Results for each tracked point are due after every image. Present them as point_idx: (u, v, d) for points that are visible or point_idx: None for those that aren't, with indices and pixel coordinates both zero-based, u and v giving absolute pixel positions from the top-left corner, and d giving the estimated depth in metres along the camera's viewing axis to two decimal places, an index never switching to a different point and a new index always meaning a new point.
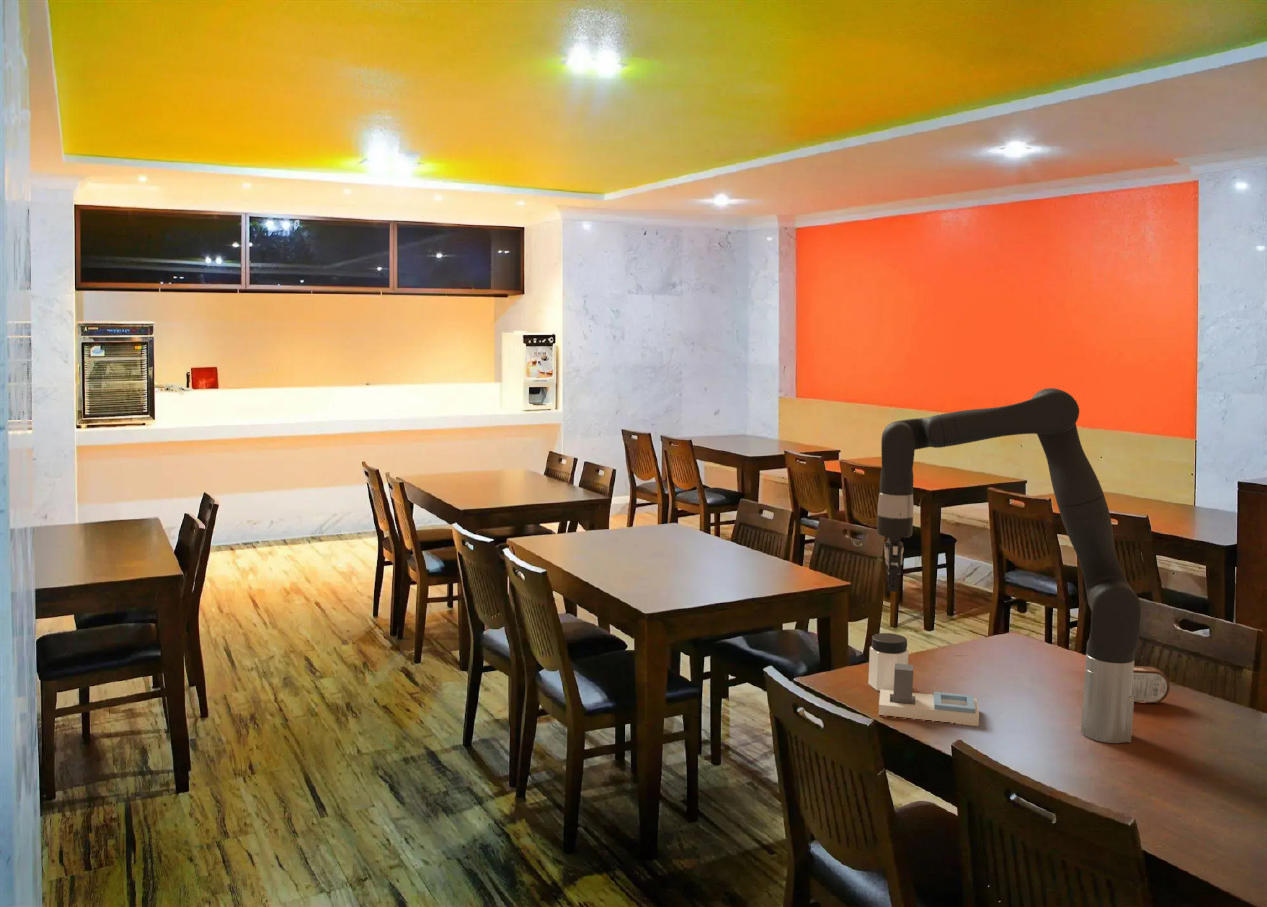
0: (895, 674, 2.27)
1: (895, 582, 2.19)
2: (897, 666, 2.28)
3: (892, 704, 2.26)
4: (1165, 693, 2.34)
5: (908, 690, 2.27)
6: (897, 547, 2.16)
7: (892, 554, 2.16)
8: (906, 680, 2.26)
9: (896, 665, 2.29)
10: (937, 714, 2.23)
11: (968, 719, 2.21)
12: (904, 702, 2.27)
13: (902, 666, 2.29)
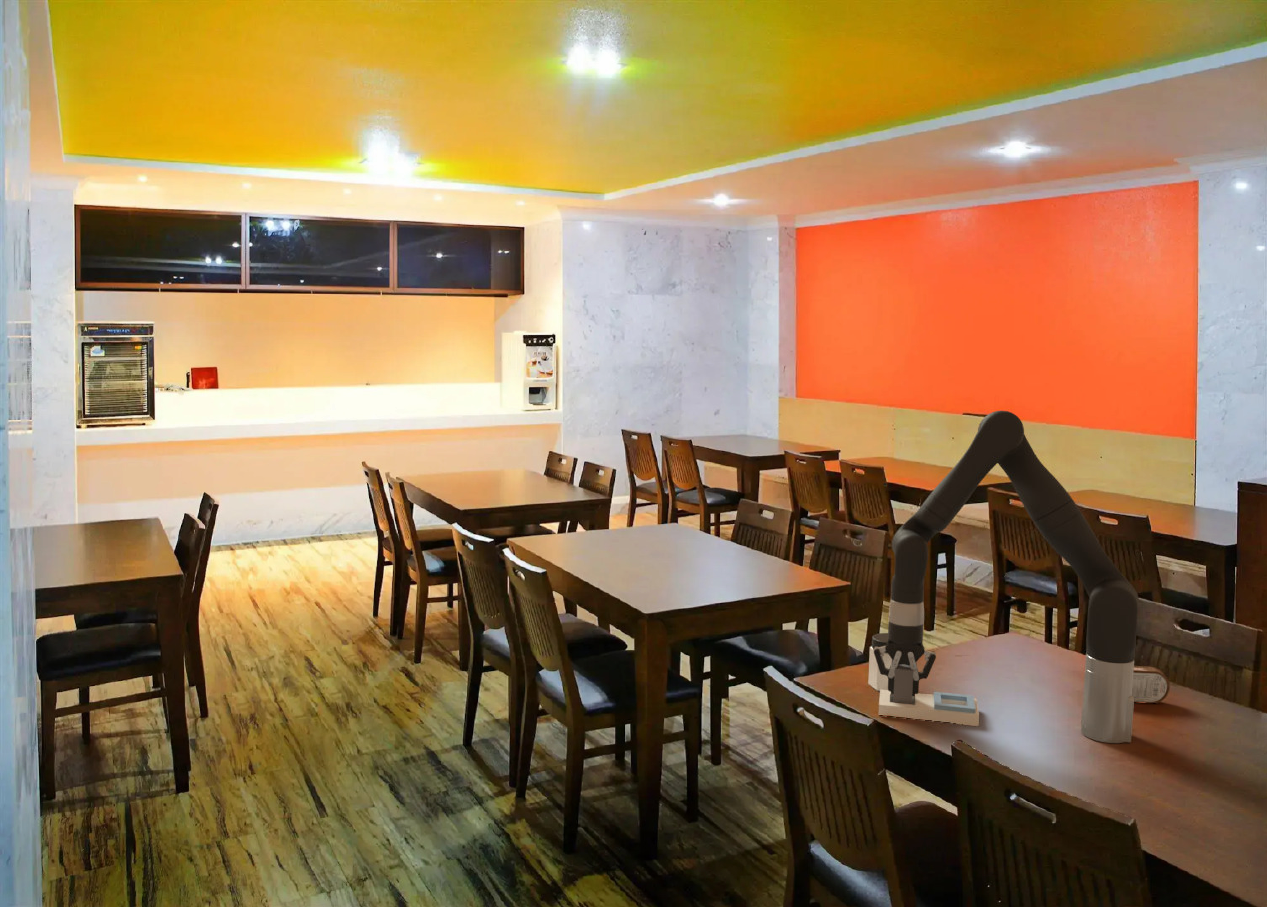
0: (895, 674, 2.27)
1: None
2: (897, 666, 2.28)
3: (892, 704, 2.26)
4: (1165, 693, 2.34)
5: (908, 690, 2.27)
6: (935, 654, 2.27)
7: None
8: (906, 680, 2.26)
9: None
10: (937, 714, 2.23)
11: (968, 719, 2.21)
12: (904, 702, 2.27)
13: (902, 666, 2.29)
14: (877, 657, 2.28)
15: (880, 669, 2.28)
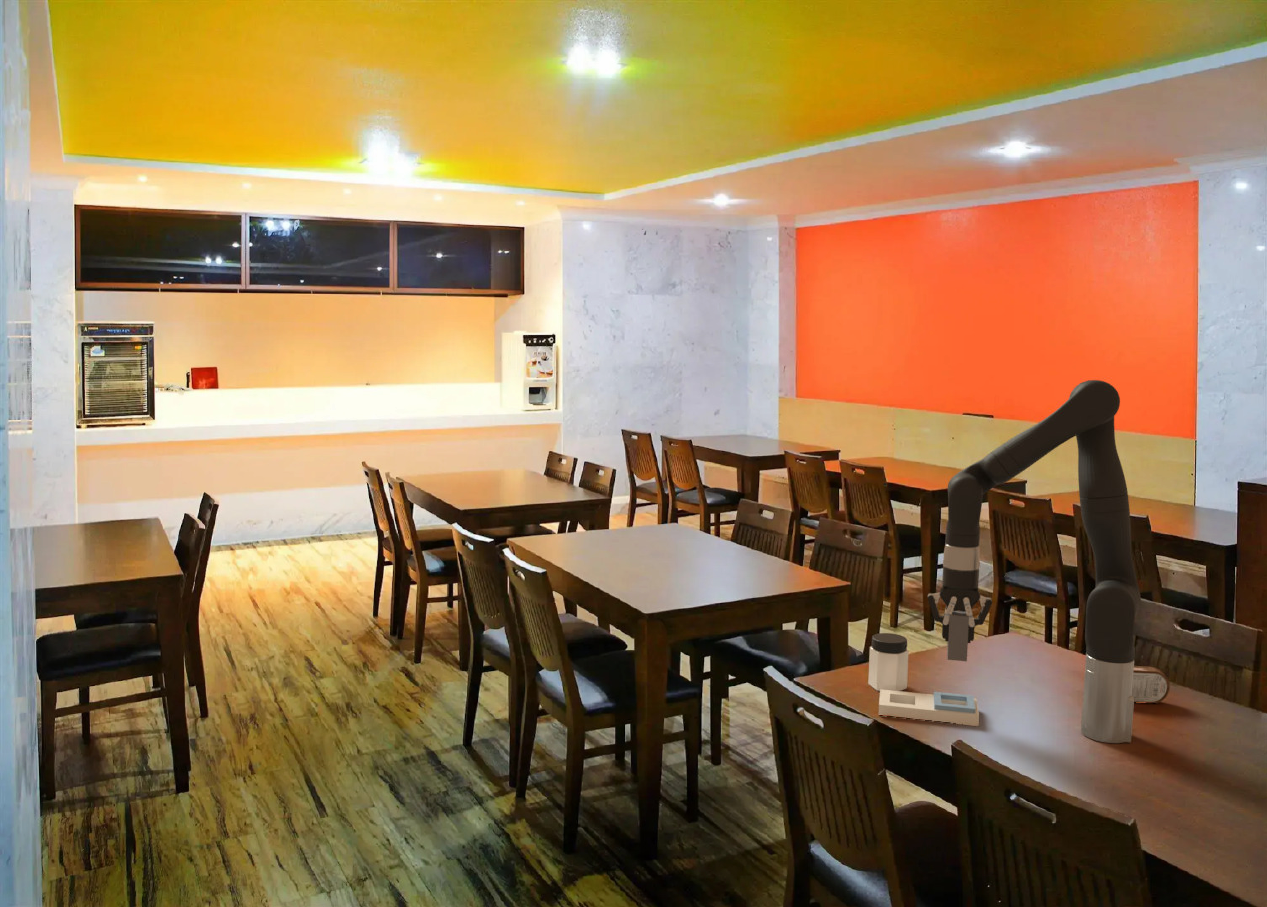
0: (950, 620, 2.22)
1: None
2: (952, 613, 2.24)
3: (892, 704, 2.26)
4: (1165, 693, 2.34)
5: (963, 636, 2.22)
6: (991, 600, 2.22)
7: None
8: (962, 626, 2.22)
9: None
10: (937, 714, 2.23)
11: (968, 719, 2.21)
12: (959, 649, 2.23)
13: (957, 612, 2.24)
14: (931, 603, 2.24)
15: (934, 616, 2.24)
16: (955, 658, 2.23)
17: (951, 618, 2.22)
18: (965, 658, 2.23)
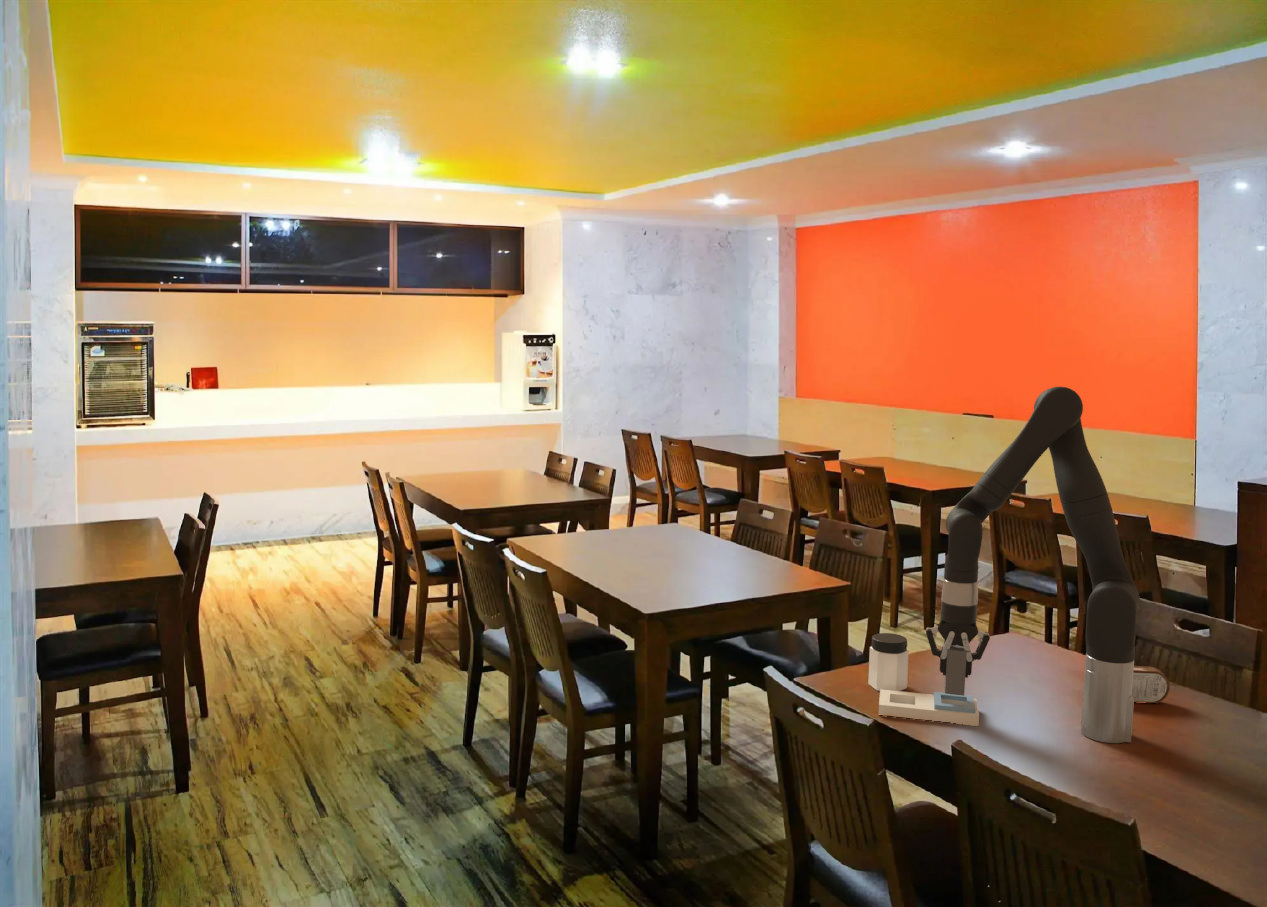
0: (948, 655, 2.24)
1: None
2: (950, 647, 2.25)
3: (892, 704, 2.26)
4: (1165, 693, 2.34)
5: (961, 671, 2.23)
6: None
7: None
8: (959, 661, 2.23)
9: None
10: (937, 714, 2.23)
11: (968, 719, 2.21)
12: (957, 684, 2.24)
13: (955, 647, 2.25)
14: (929, 638, 2.25)
15: (932, 650, 2.25)
16: (952, 692, 2.24)
17: (949, 652, 2.23)
18: (962, 692, 2.24)
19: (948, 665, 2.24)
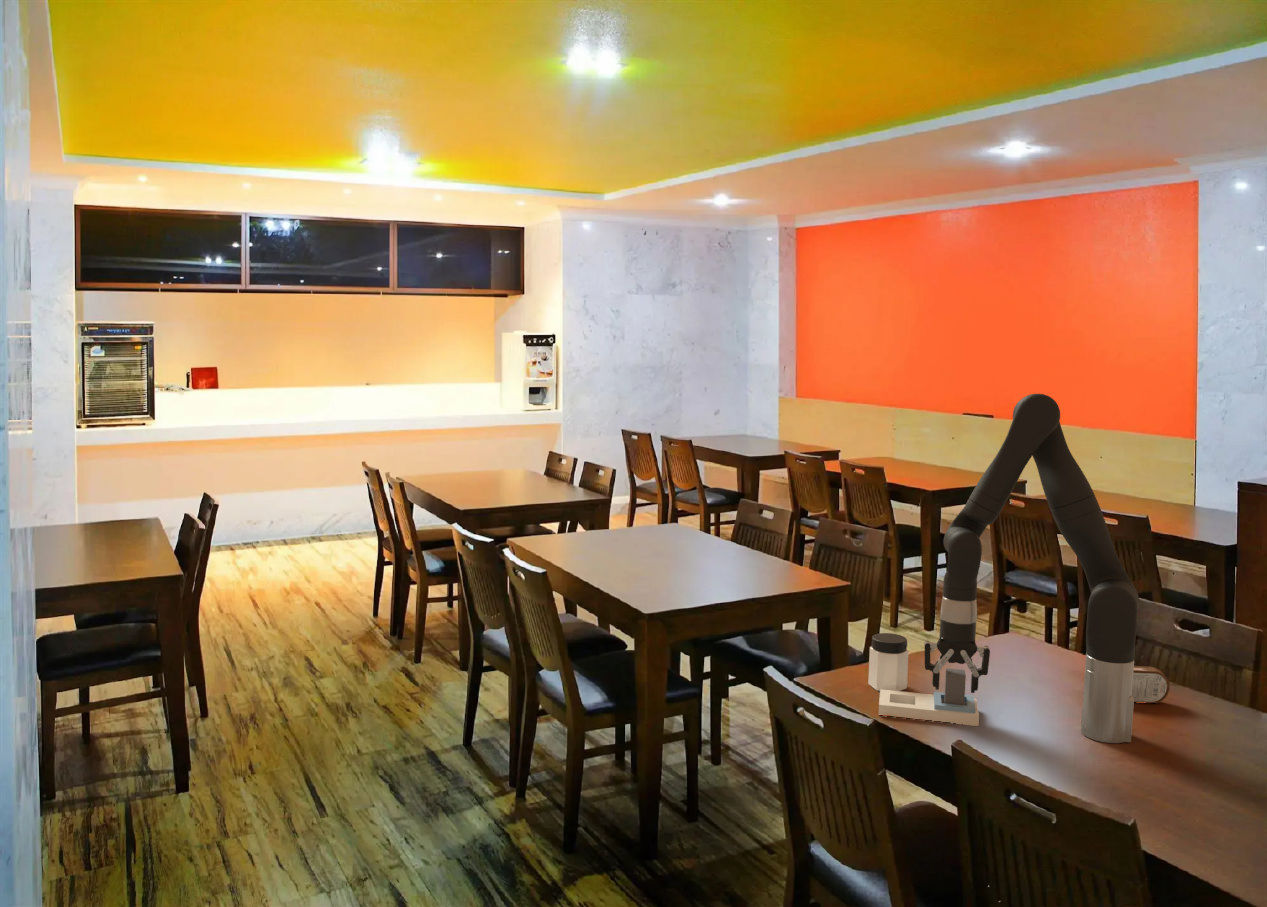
0: (947, 679, 2.24)
1: None
2: (949, 671, 2.26)
3: (892, 704, 2.26)
4: (1165, 693, 2.34)
5: (960, 695, 2.24)
6: None
7: None
8: (958, 685, 2.24)
9: (947, 670, 2.26)
10: (937, 714, 2.23)
11: (968, 719, 2.21)
12: None
13: (954, 671, 2.26)
14: (926, 651, 2.25)
15: (926, 664, 2.26)
16: None
17: (948, 677, 2.24)
18: None
19: (947, 689, 2.24)
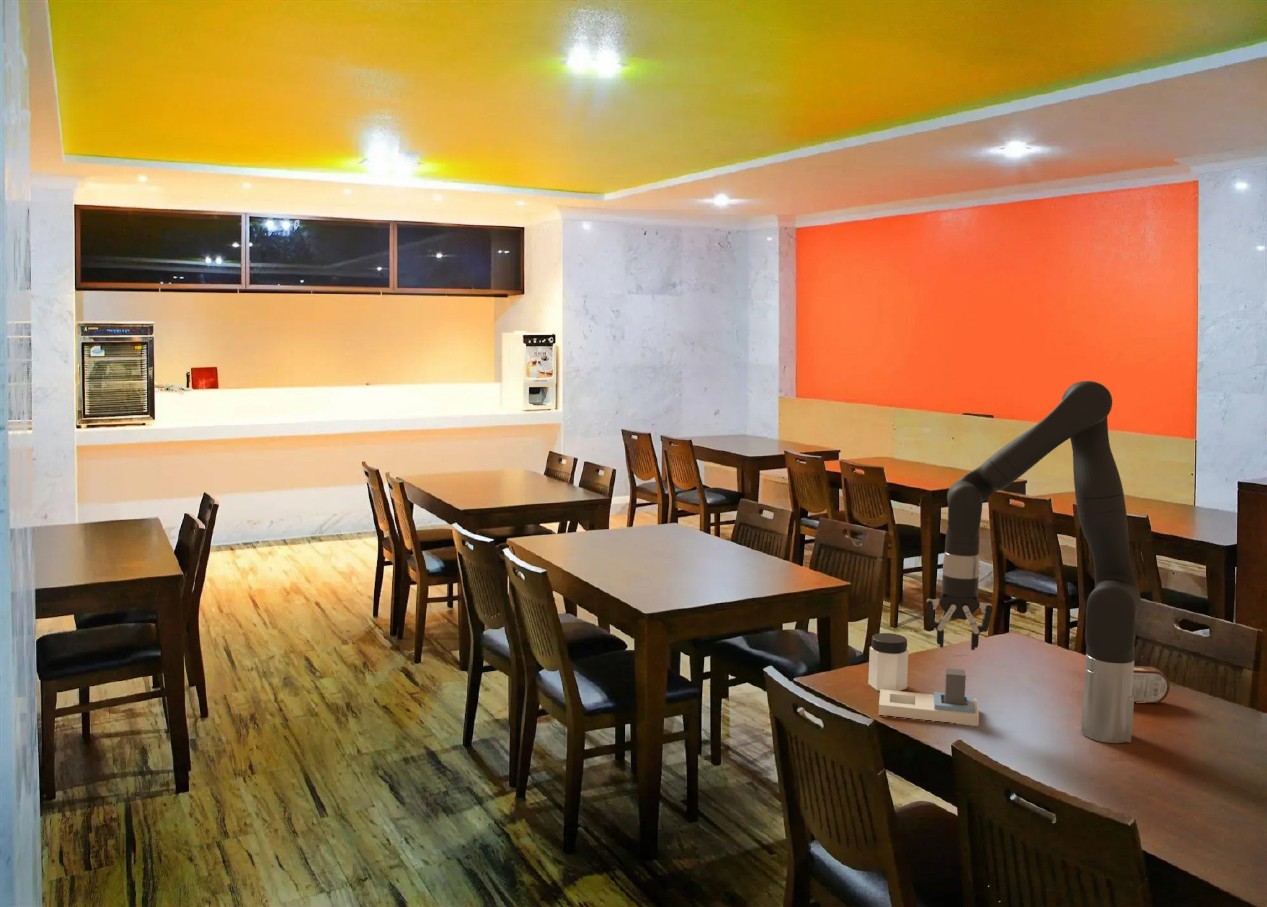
0: (947, 679, 2.24)
1: None
2: (949, 671, 2.26)
3: (892, 704, 2.26)
4: (1165, 693, 2.34)
5: (960, 695, 2.24)
6: (991, 605, 2.22)
7: None
8: (958, 685, 2.24)
9: (947, 670, 2.26)
10: (937, 714, 2.23)
11: (968, 719, 2.21)
12: None
13: (954, 671, 2.26)
14: (929, 609, 2.24)
15: (930, 621, 2.24)
16: None
17: (948, 677, 2.24)
18: None
19: (947, 689, 2.24)
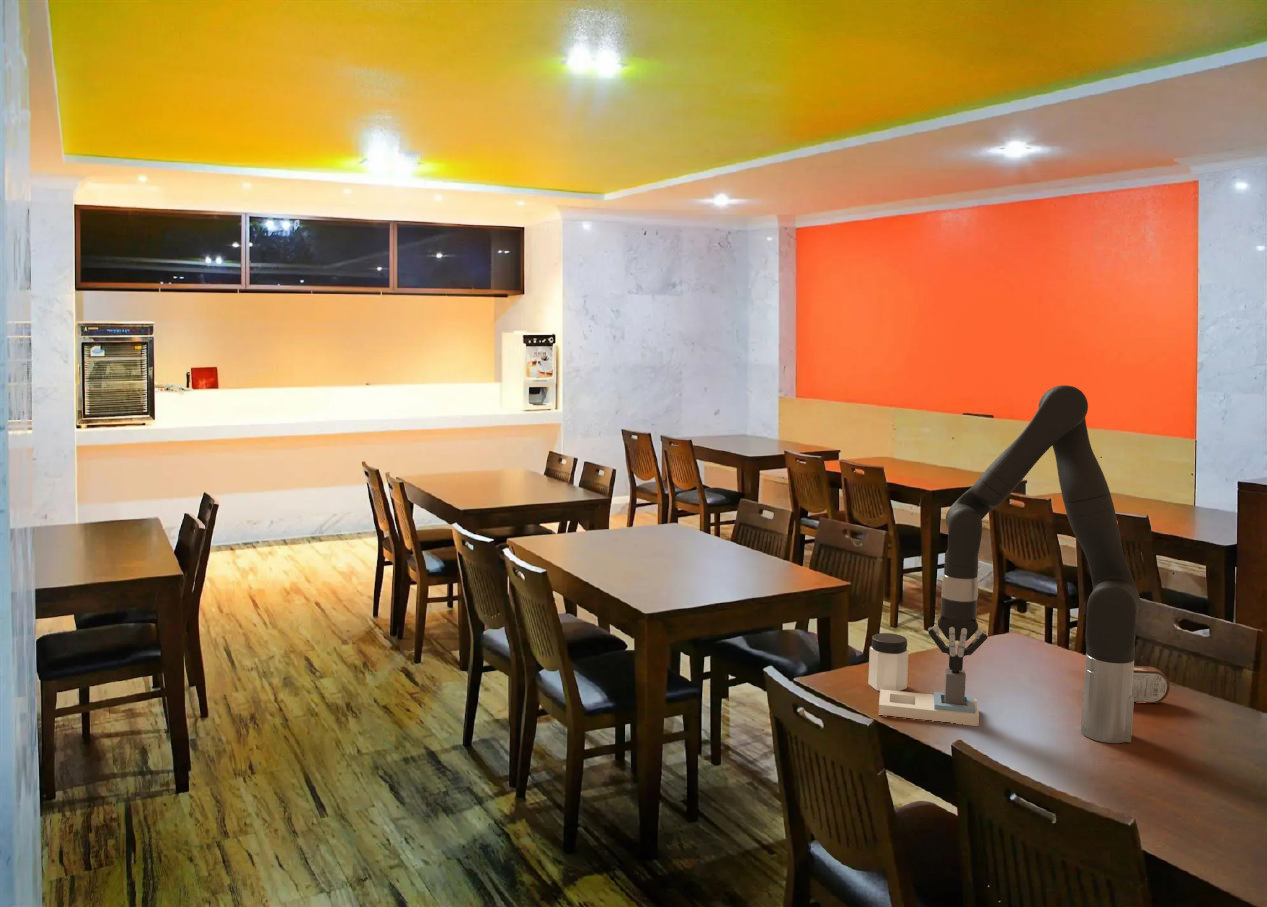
0: (947, 679, 2.24)
1: None
2: (949, 671, 2.26)
3: (892, 704, 2.26)
4: (1165, 693, 2.34)
5: (960, 695, 2.24)
6: (986, 635, 2.23)
7: None
8: (958, 685, 2.24)
9: (947, 670, 2.26)
10: (937, 714, 2.23)
11: (968, 719, 2.21)
12: None
13: None
14: (934, 637, 2.25)
15: (941, 648, 2.25)
16: None
17: (948, 677, 2.24)
18: None
19: (947, 689, 2.24)
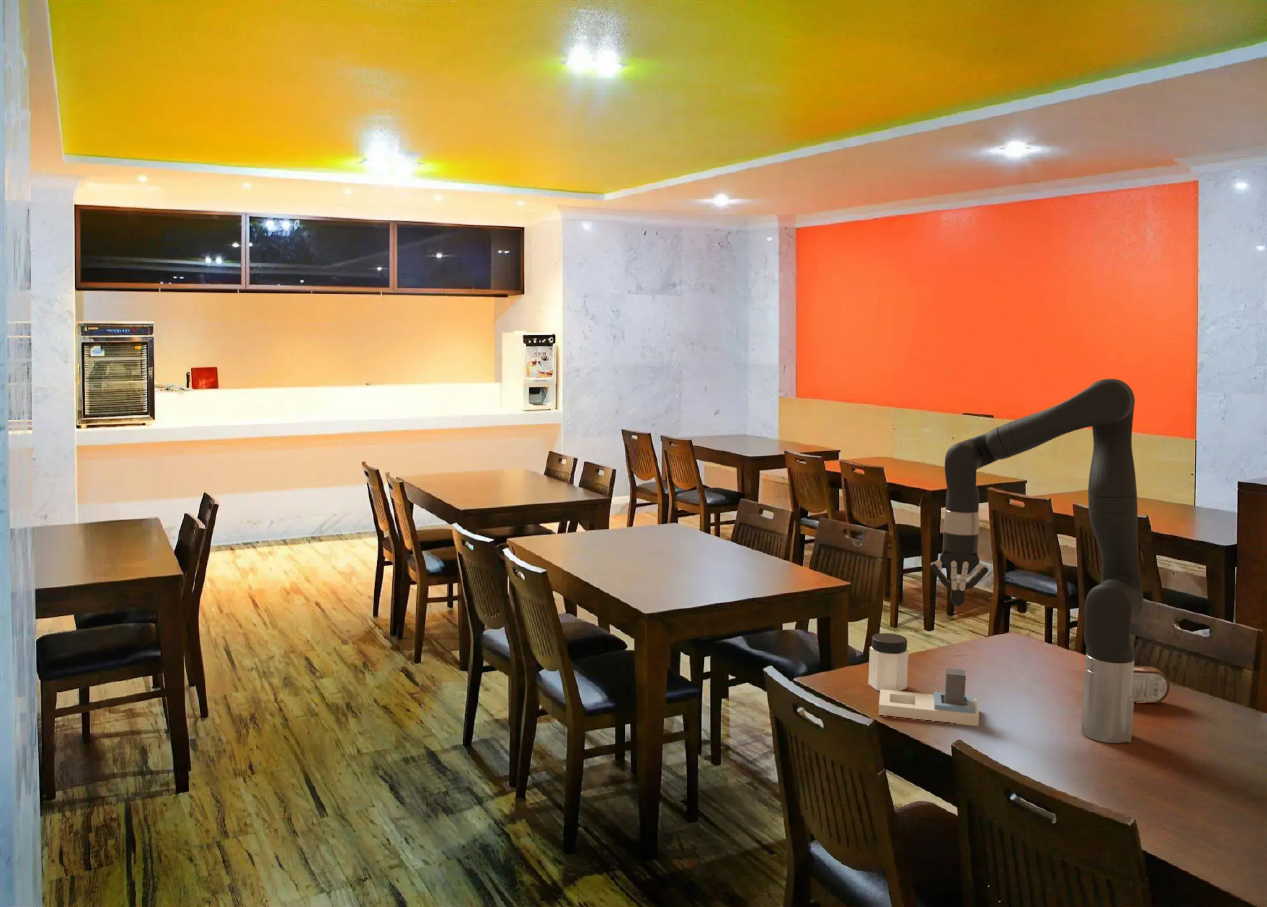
0: (947, 679, 2.24)
1: None
2: (949, 671, 2.26)
3: (892, 704, 2.26)
4: (1165, 693, 2.34)
5: (960, 695, 2.24)
6: None
7: None
8: (958, 685, 2.24)
9: (947, 670, 2.26)
10: (937, 714, 2.23)
11: (968, 719, 2.21)
12: None
13: (954, 671, 2.26)
14: (936, 571, 2.30)
15: (943, 582, 2.30)
16: None
17: (948, 677, 2.24)
18: None
19: (947, 689, 2.24)
